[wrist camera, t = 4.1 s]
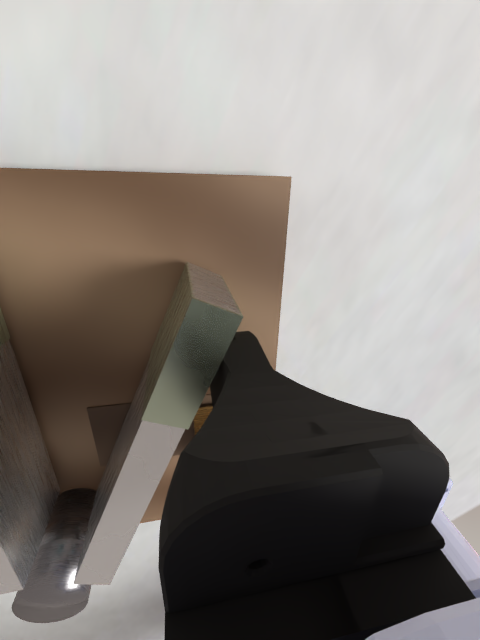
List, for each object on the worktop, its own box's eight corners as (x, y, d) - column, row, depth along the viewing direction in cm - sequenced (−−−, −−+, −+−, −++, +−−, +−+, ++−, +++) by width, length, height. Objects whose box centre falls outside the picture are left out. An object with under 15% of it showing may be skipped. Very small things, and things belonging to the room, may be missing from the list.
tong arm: (125, 492, 14) (110, 587, 10) (95, 489, 13) (70, 588, 10) (221, 275, 10) (243, 316, 7) (186, 261, 10) (192, 298, 7)
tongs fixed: (111, 517, 14) (91, 623, 11) (46, 529, 14) (4, 644, 10) (38, 221, 9) (-50, 245, 5) (-75, 221, 8) (-256, 247, 5)
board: (258, 480, 17) (264, 501, 16) (30, 519, 15) (18, 547, 14) (279, 177, 11) (292, 176, 10) (-120, 165, 9) (-165, 162, 7)
